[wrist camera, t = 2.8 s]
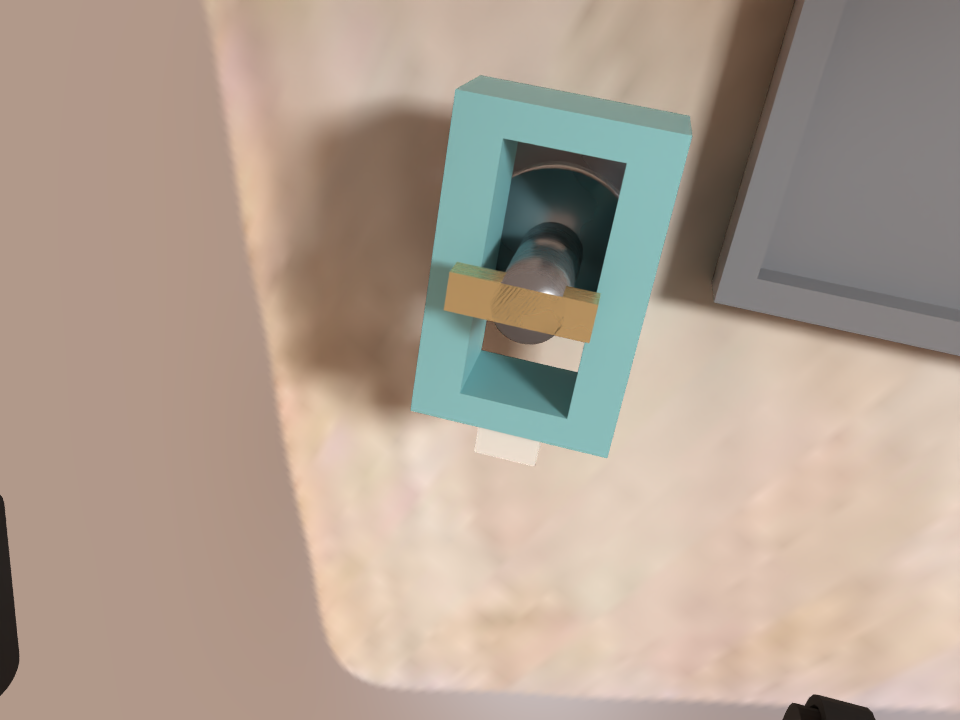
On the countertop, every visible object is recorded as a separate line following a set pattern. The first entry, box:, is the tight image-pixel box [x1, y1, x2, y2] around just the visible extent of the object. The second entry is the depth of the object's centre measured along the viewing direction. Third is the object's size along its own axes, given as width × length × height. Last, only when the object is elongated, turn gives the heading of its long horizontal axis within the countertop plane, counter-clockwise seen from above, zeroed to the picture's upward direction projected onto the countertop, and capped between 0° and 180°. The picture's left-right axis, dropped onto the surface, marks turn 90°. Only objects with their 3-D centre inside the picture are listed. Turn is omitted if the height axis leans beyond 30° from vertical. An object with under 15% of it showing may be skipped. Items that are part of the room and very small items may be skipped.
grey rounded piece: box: [444, 141, 627, 344], centre depth 24 cm, size 6×6×8 cm
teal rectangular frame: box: [411, 75, 692, 467], centre depth 23 cm, size 10×6×3 cm, turn 171°
